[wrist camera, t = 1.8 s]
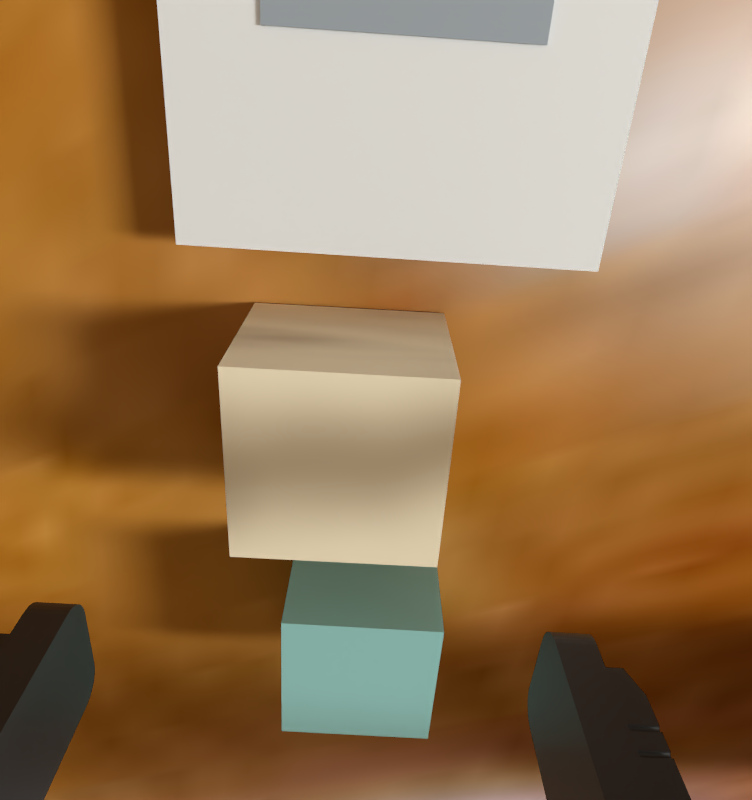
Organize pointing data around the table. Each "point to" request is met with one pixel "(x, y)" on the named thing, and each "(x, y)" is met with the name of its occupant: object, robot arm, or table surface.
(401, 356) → the birch block
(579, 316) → the table surface
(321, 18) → the board
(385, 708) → the teal cube
